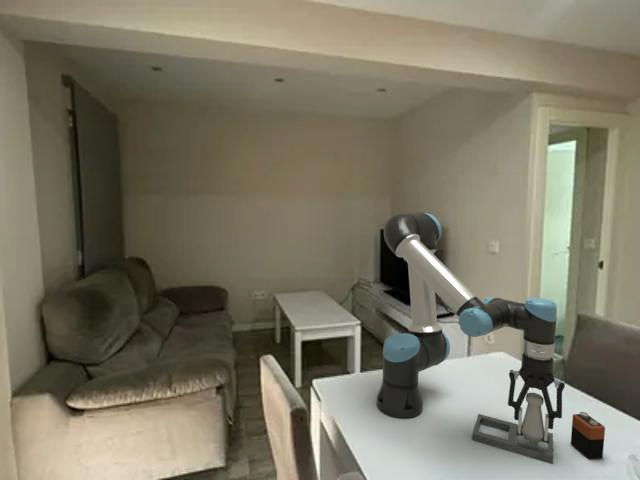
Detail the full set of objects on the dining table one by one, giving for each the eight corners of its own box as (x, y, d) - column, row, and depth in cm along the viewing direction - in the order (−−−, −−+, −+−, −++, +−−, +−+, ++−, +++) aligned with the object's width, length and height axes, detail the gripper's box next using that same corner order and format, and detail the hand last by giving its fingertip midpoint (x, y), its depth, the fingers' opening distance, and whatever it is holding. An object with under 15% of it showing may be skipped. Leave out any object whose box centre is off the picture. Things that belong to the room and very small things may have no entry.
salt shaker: (547, 446, 105) (550, 401, 104) (524, 443, 106) (527, 398, 105) (539, 434, 111) (542, 391, 109) (517, 431, 112) (520, 388, 111)
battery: (583, 443, 110) (586, 410, 109) (603, 459, 103) (606, 423, 102) (569, 444, 109) (572, 410, 108) (588, 459, 103) (591, 424, 102)
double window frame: (471, 439, 111) (472, 433, 111) (478, 419, 121) (478, 413, 121) (552, 464, 101) (553, 457, 101) (552, 440, 111) (552, 433, 111)
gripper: (499, 352, 107) (494, 431, 110) (579, 367, 98) (572, 453, 100) (501, 344, 114) (497, 418, 116) (577, 357, 104) (571, 438, 107)
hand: (532, 434), depth 108 cm, fingers closed on salt shaker, 6 cm apart
